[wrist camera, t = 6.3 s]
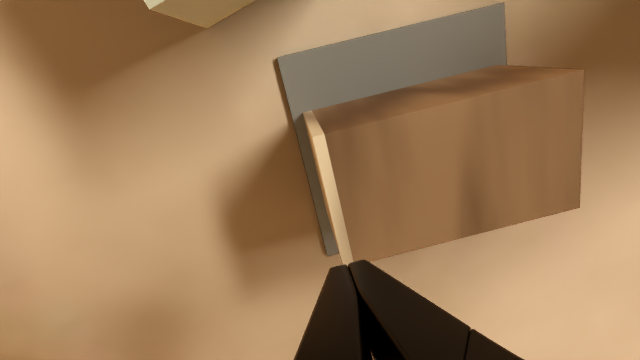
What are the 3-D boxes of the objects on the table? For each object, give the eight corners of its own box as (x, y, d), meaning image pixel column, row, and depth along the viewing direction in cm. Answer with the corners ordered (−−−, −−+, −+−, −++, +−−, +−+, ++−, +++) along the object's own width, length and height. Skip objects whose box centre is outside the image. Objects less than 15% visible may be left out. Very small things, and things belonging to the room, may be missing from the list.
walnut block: (302, 112, 16) (496, 65, 16) (326, 211, 18) (501, 167, 18) (312, 137, 11) (584, 69, 12) (343, 268, 13) (579, 207, 13)
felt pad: (501, 2, 16) (504, 2, 15) (509, 207, 19) (512, 208, 19) (276, 57, 15) (277, 57, 15) (327, 254, 19) (327, 256, 19)
